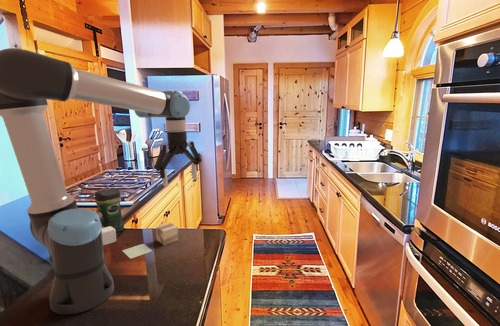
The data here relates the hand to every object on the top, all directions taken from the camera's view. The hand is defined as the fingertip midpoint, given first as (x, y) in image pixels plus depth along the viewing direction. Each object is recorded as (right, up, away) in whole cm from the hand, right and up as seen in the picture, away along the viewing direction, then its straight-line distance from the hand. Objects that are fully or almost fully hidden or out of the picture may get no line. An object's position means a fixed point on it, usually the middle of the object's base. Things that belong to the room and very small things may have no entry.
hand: (180, 182), depth 115 cm
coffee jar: (-31, -21, +4) cm, 38 cm away
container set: (-32, -24, -11) cm, 42 cm away
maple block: (-4, -23, -5) cm, 24 cm away
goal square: (-13, -24, -13) cm, 30 cm away
